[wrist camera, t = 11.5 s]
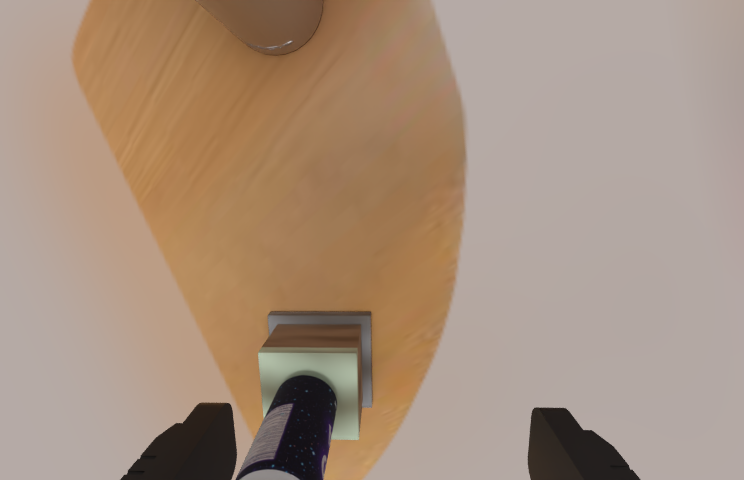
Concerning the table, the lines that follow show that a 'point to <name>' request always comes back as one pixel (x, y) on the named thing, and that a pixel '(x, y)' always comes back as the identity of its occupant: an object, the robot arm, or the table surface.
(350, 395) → the block
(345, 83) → the table surface
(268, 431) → the beverage can
